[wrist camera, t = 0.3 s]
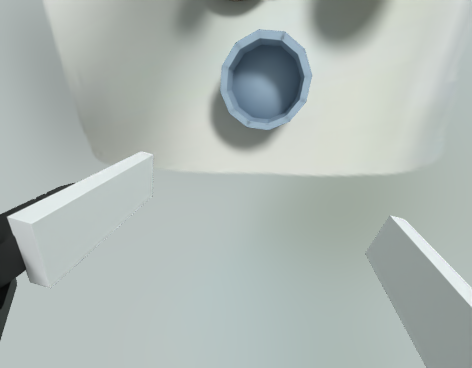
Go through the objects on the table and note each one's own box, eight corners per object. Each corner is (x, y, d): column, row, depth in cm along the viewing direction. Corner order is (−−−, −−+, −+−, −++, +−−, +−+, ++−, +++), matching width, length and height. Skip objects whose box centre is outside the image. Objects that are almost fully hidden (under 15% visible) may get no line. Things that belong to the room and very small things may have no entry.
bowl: (232, 35, 32) (224, 26, 27) (314, 43, 30) (321, 34, 25) (225, 118, 37) (218, 123, 32) (295, 127, 35) (298, 134, 31)
